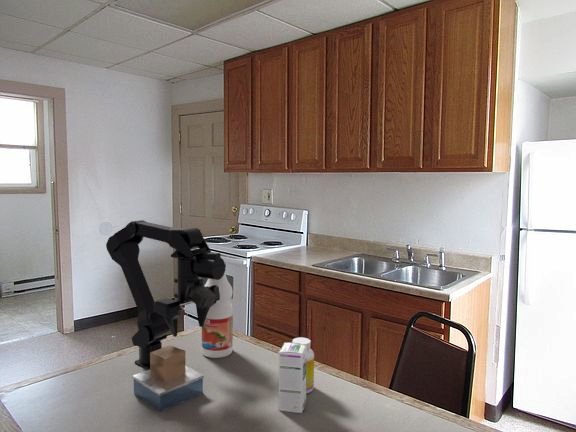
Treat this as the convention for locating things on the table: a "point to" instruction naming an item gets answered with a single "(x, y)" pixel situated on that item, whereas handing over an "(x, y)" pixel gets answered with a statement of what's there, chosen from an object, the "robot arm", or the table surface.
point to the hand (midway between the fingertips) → (188, 331)
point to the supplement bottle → (308, 363)
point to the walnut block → (167, 363)
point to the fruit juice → (219, 322)
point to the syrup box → (292, 377)
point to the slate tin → (168, 388)
